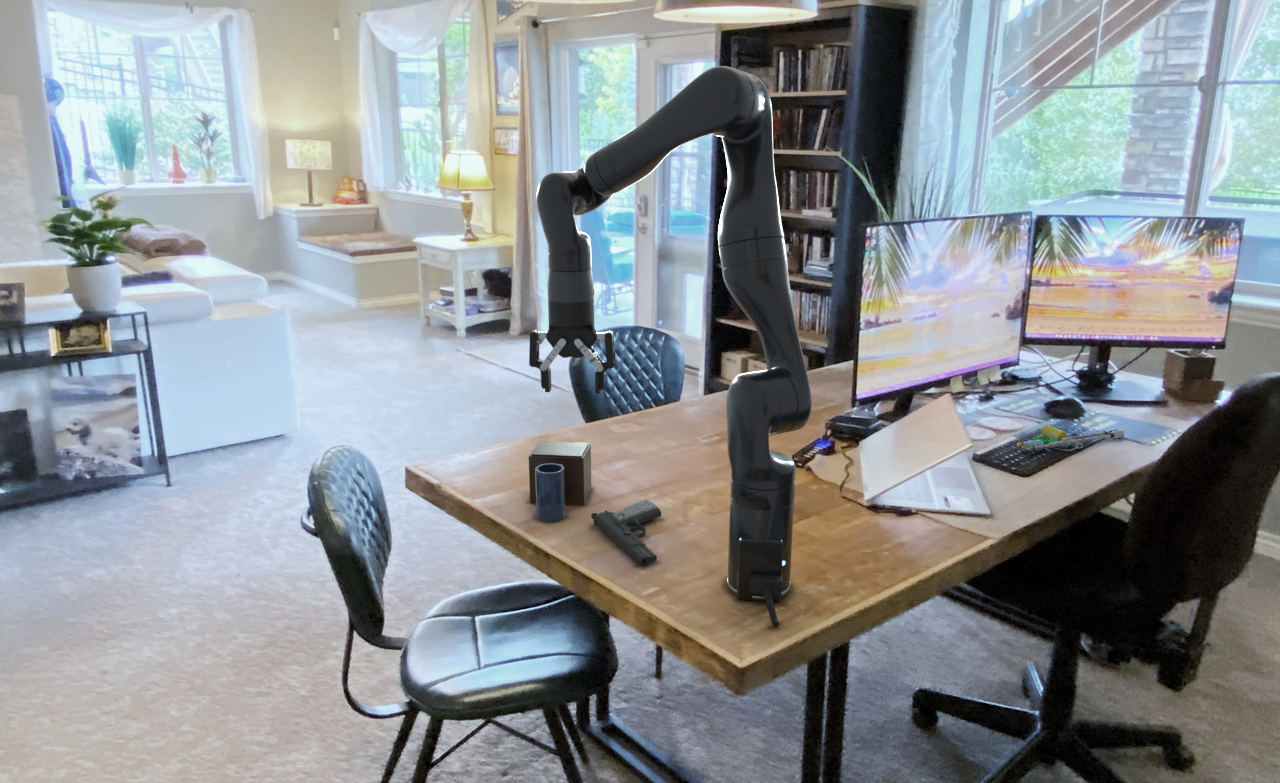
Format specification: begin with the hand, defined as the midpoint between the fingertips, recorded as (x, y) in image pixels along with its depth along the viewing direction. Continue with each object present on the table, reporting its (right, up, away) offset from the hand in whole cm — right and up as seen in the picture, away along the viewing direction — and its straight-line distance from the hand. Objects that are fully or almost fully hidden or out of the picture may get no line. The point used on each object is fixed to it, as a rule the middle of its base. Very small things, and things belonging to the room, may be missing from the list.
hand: (573, 391), depth 156 cm
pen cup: (-4, -22, +7) cm, 23 cm away
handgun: (+12, -24, -1) cm, 27 cm away
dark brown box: (-3, -19, +16) cm, 25 cm away
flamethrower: (+103, -11, +44) cm, 113 cm away
